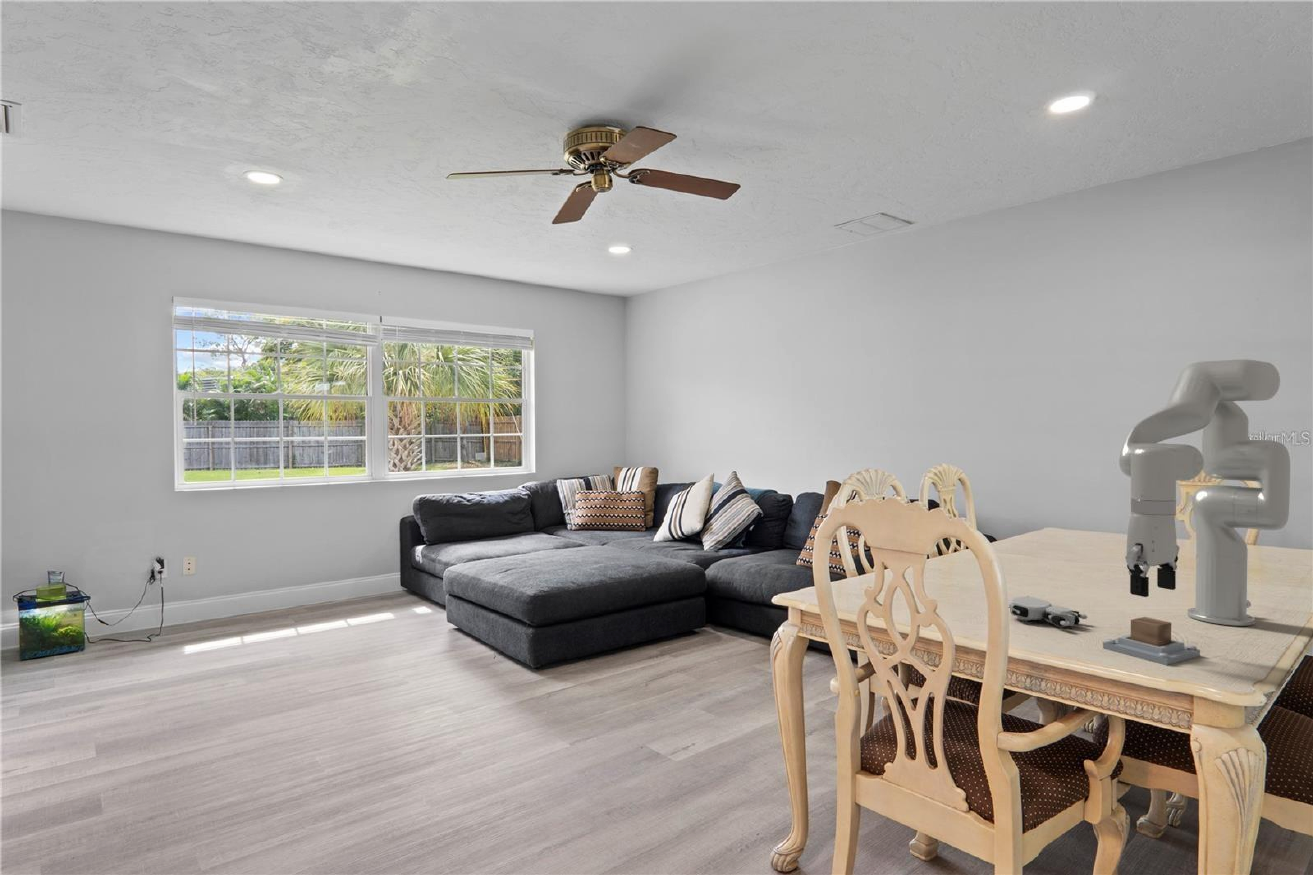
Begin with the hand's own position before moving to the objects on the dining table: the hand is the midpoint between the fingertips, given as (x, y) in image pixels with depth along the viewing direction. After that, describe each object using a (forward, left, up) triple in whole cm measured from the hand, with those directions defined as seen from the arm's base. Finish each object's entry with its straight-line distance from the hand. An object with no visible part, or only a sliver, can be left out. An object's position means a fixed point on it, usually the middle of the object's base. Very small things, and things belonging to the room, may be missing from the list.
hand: (1153, 591), depth 146 cm
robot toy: (-1, -24, -13) cm, 27 cm away
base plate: (+1, 0, -12) cm, 12 cm away
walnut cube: (+1, 0, -11) cm, 11 cm away
